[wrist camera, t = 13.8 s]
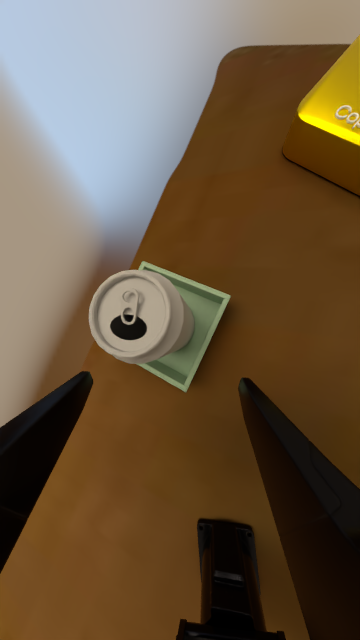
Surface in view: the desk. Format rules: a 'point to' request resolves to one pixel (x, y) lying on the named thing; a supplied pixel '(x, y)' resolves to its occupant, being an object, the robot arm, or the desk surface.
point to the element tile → (330, 124)
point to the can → (140, 317)
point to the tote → (207, 316)
